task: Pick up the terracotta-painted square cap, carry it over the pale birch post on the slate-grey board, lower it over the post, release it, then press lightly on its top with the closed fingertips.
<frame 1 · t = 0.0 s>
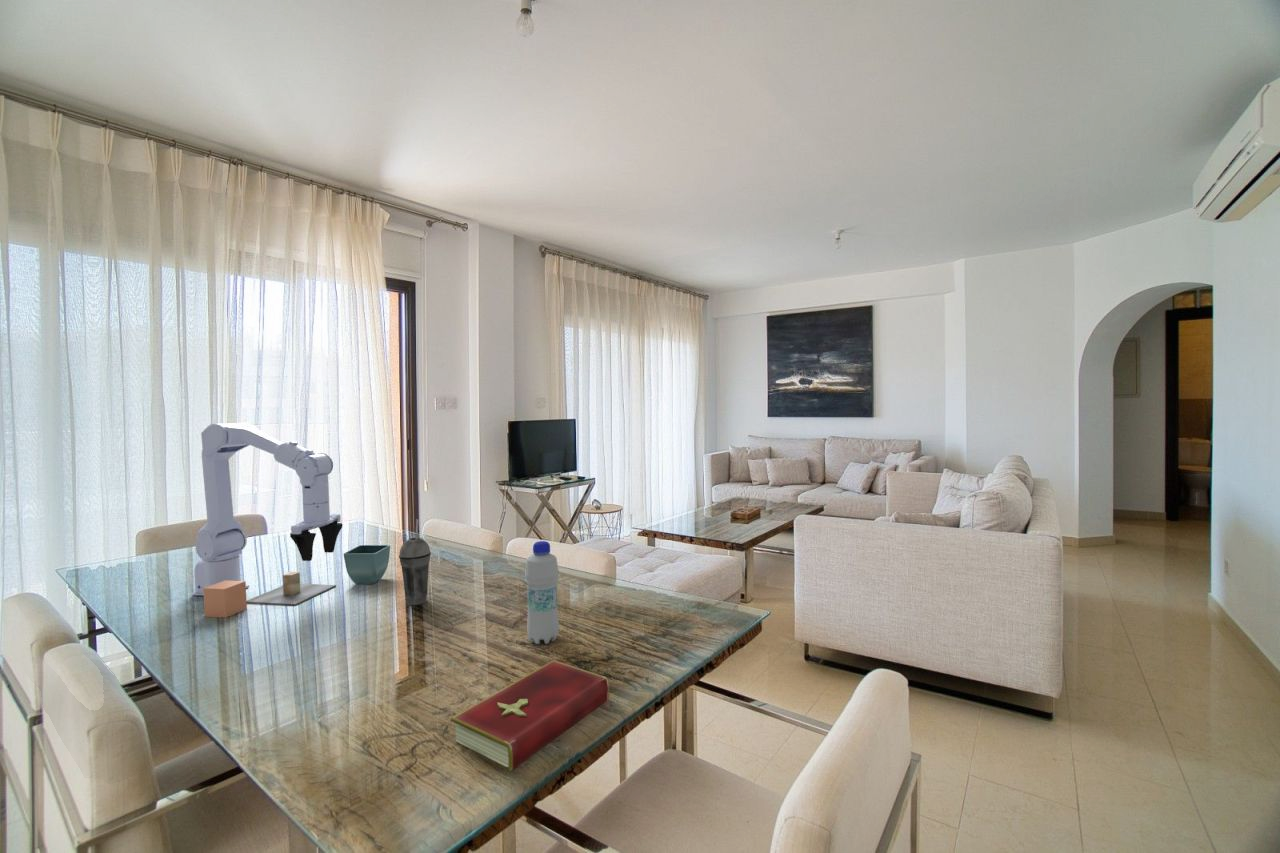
hand: (318, 556, 141), 10 cm above the table, fingers open, 7 cm apart
hardcover book: (535, 723, 84), on the table
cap: (226, 612, 131), on the table
bottle: (543, 640, 113), on the table
beverage cup: (416, 602, 136), on the table
flower pot: (368, 582, 152), on the table
post block: (292, 594, 143), on the table
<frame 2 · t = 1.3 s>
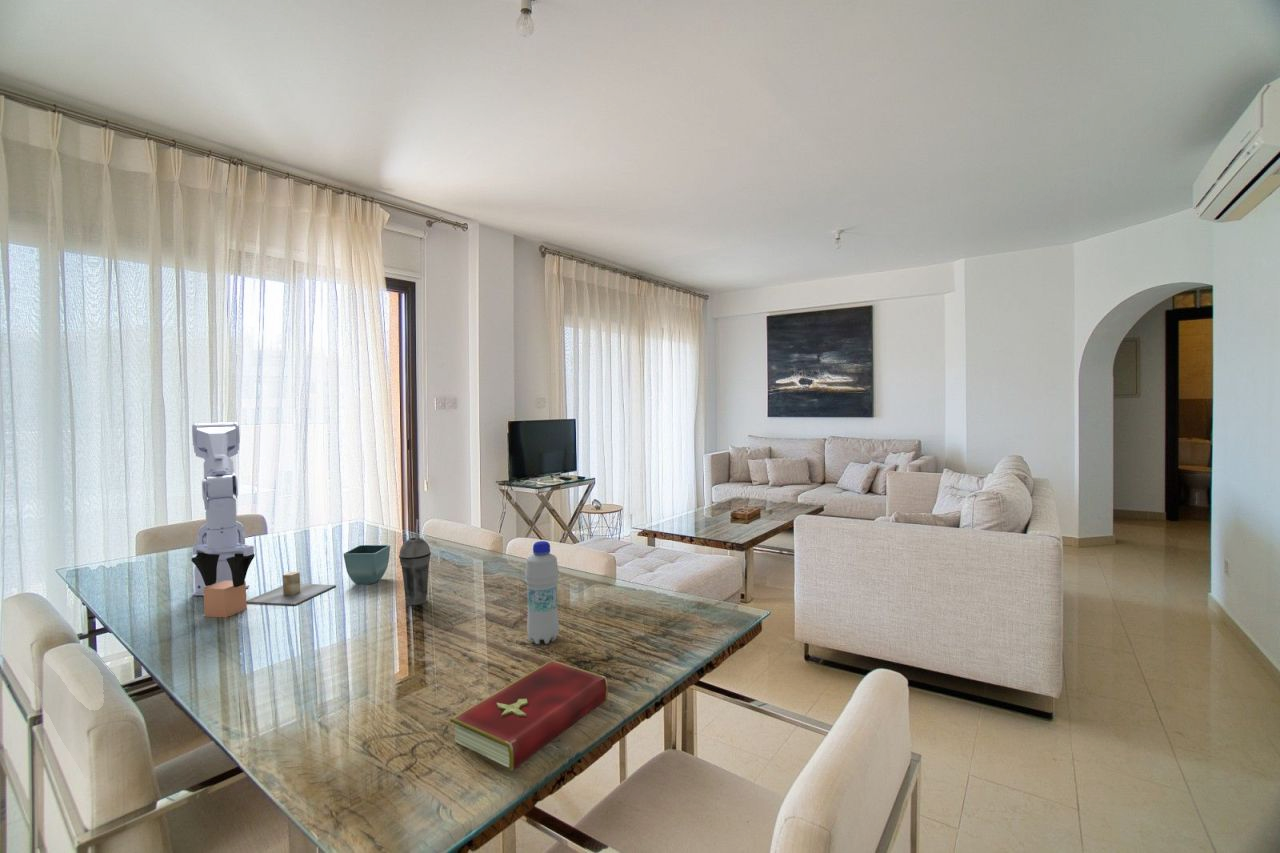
hand: (224, 585, 130), 6 cm above the table, fingers open, 7 cm apart
nothing on the table moved.
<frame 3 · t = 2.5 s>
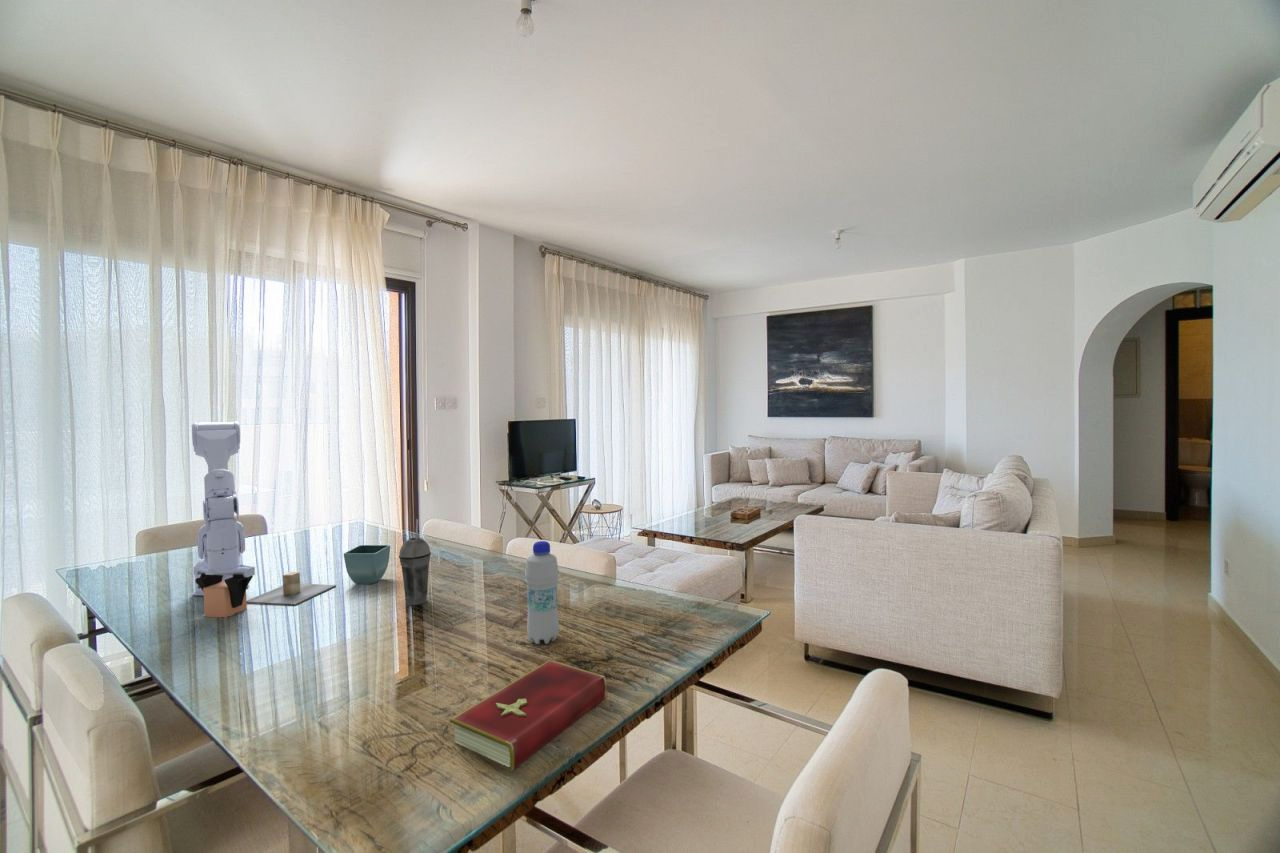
hand: (225, 605, 131), 2 cm above the table, fingers closed on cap, 6 cm apart
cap: (226, 612, 131), on the table, touching gripper
everything else where it was.
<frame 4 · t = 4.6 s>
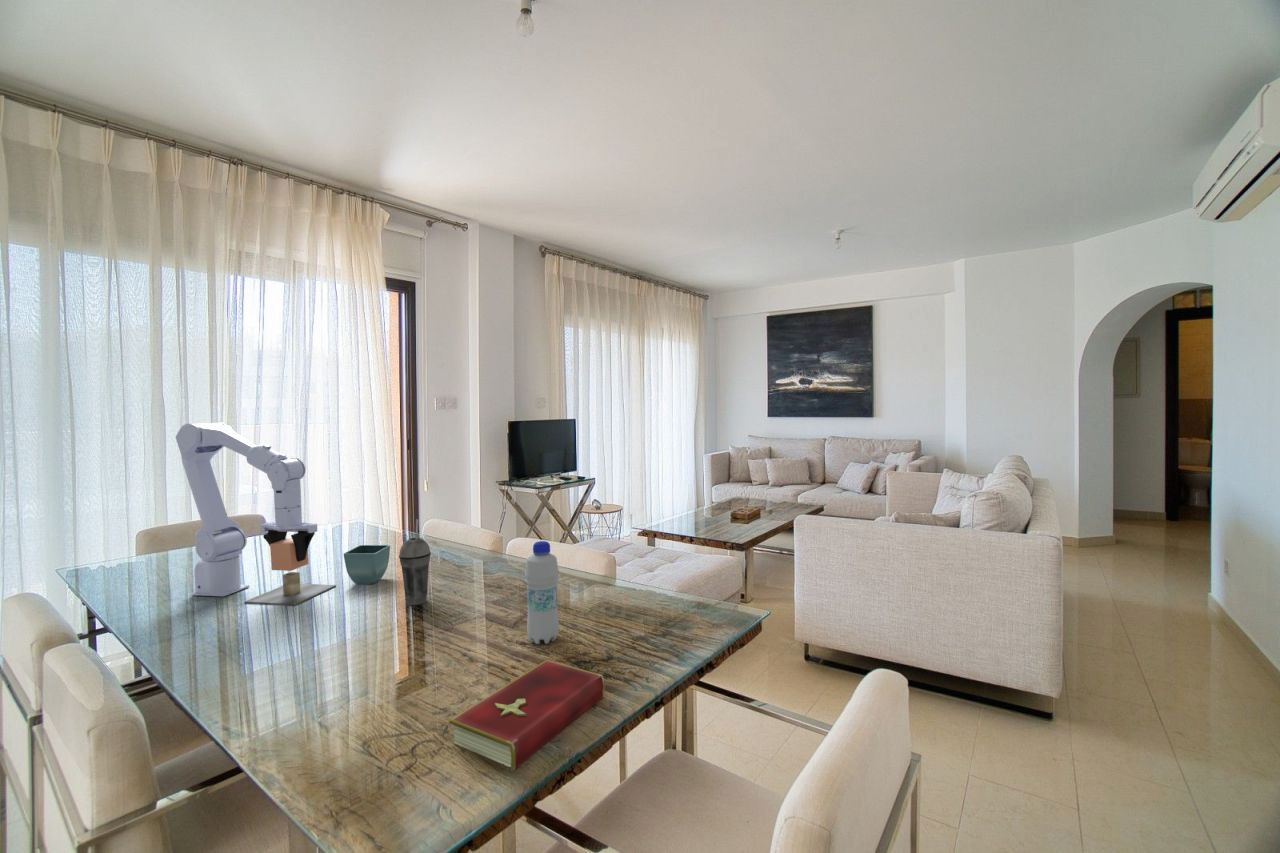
hand: (290, 560, 142), 9 cm above the table, fingers closed on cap, 6 cm apart
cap: (290, 566, 142), point 7 cm above the table, touching gripper
everything else where it was.
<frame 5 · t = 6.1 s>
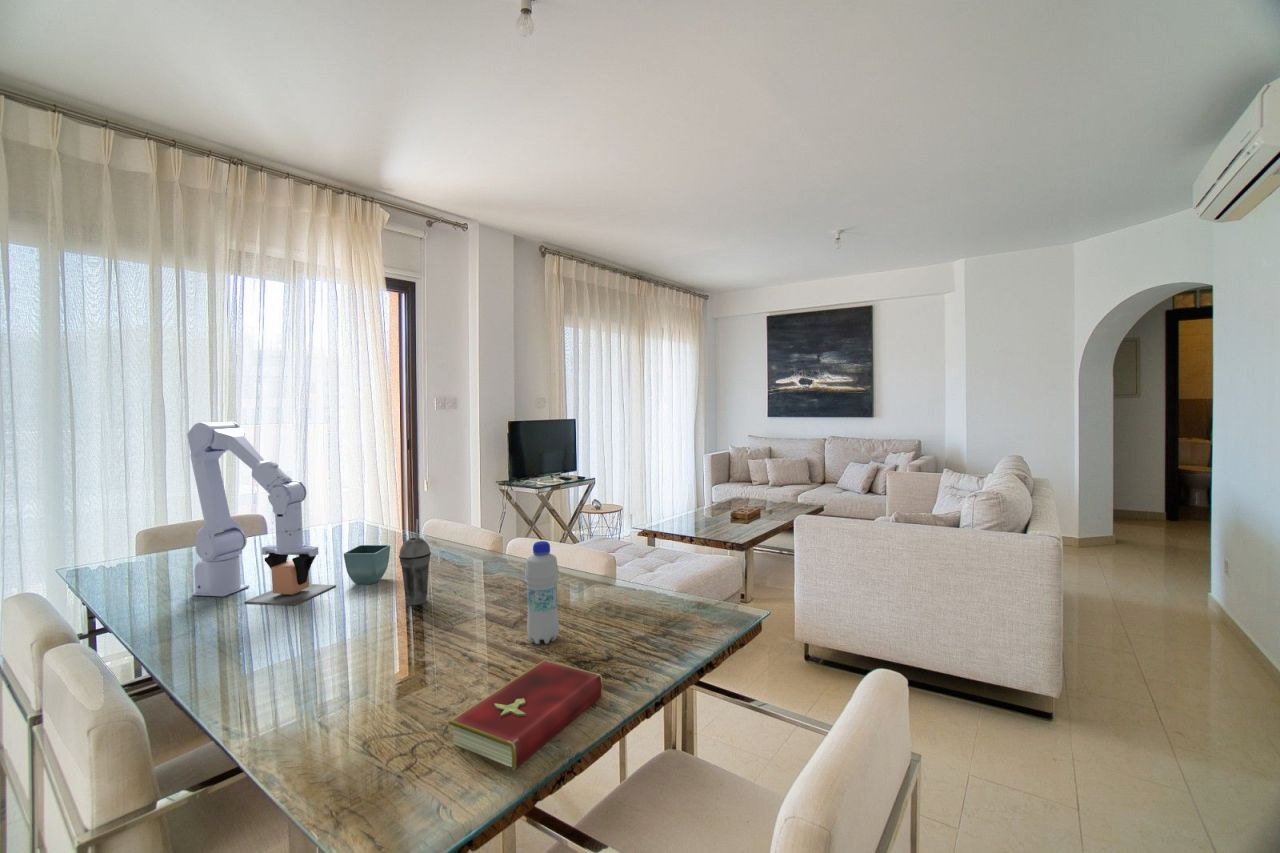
hand: (291, 582, 142), 3 cm above the table, fingers closed on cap, 6 cm apart
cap: (291, 589, 142), point 1 cm above the table, touching gripper
everything else where it was.
when the fingers open (3 cm above the table, at t = 7.0 s): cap stays where it is, resting on post block.
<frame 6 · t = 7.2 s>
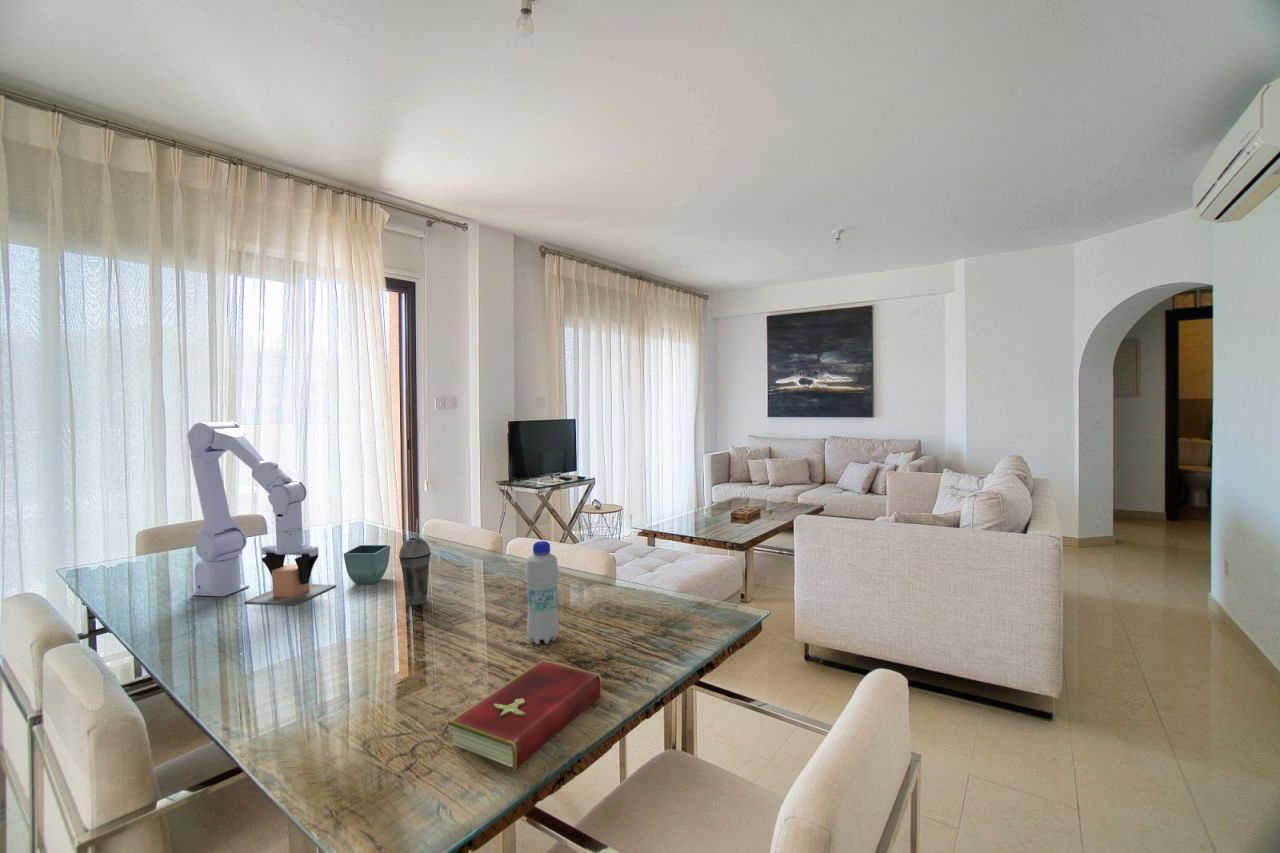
hand: (291, 582, 142), 3 cm above the table, fingers open, 7 cm apart
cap: (291, 593, 142), resting on post block
everything else where it was.
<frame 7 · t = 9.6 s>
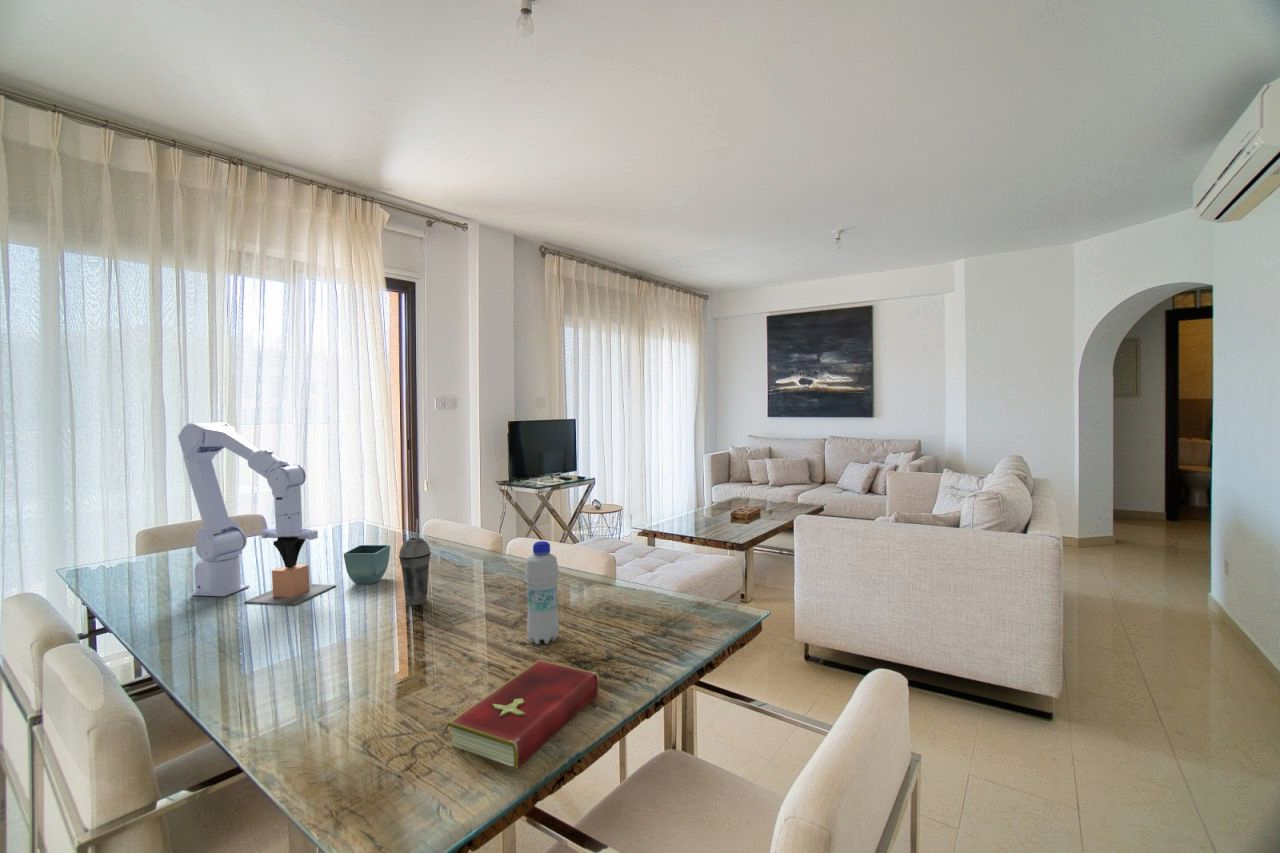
hand: (290, 566, 142), 7 cm above the table, fingers closed
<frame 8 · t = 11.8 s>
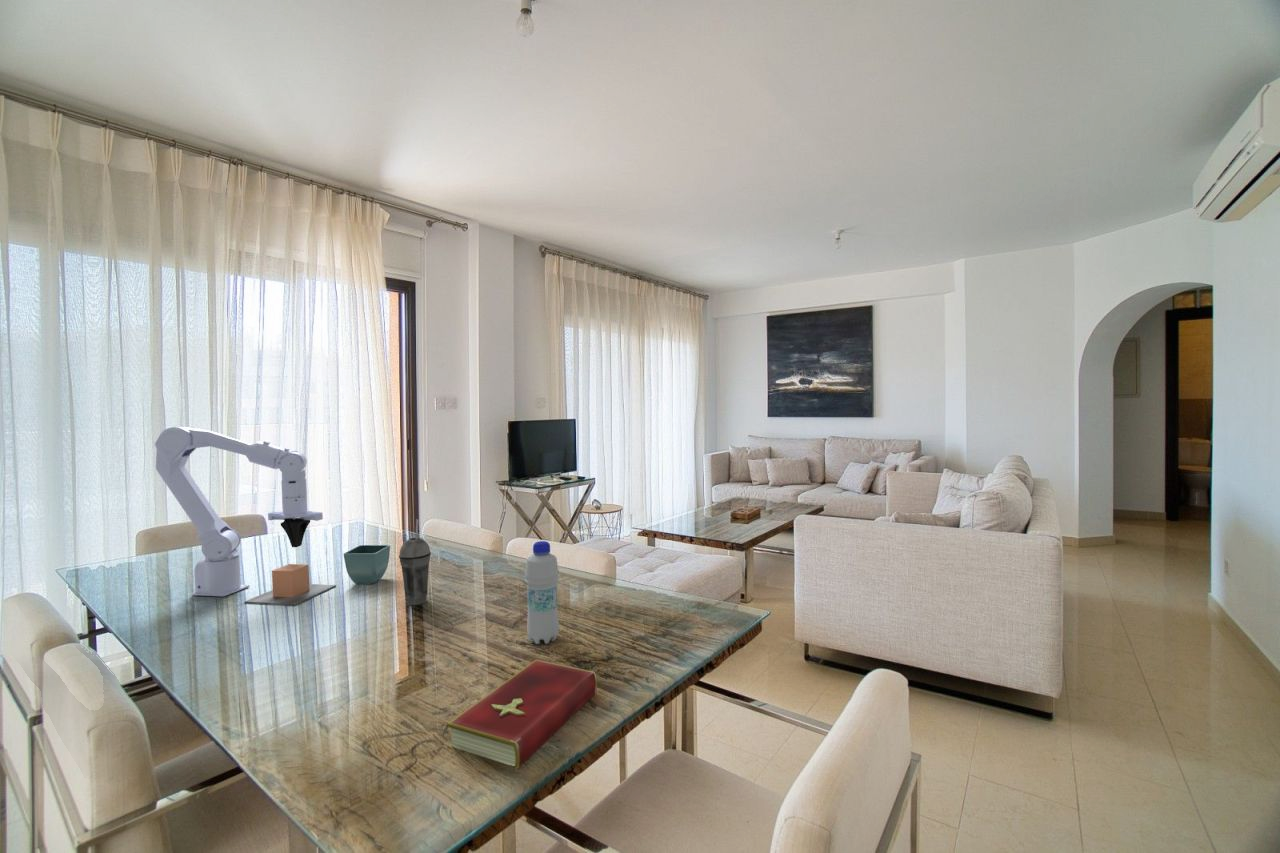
hand: (296, 546, 152), 10 cm above the table, fingers closed
at the end: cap 0.1 cm from the post block (horizontally); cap resting on post block; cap tilted 0° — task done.
